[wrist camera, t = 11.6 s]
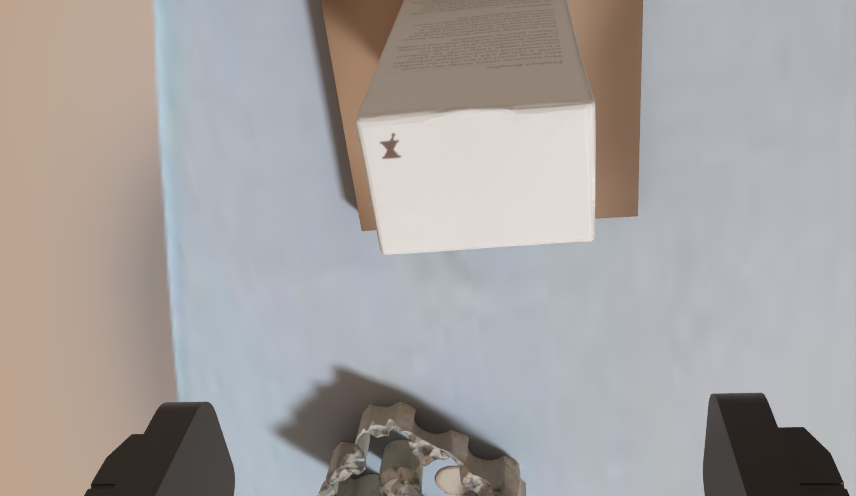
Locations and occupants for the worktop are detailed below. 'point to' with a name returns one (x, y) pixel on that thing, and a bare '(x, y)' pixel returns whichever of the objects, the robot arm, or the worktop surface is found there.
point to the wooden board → (604, 64)
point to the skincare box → (479, 128)
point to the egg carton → (415, 461)
